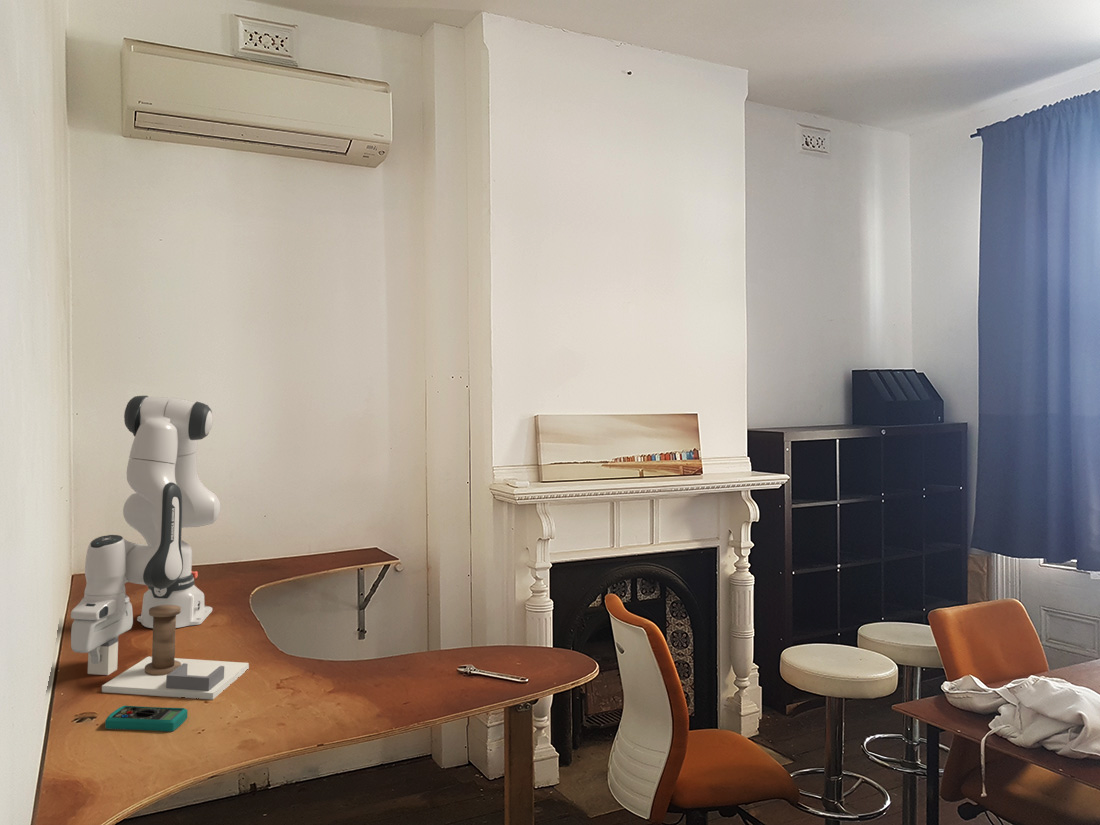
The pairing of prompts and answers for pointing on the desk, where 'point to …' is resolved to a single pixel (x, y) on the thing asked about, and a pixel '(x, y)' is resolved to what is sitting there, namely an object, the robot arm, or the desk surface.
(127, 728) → the digital multimeter
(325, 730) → the desk surface
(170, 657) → the bobbin
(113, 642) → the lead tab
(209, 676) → the board
